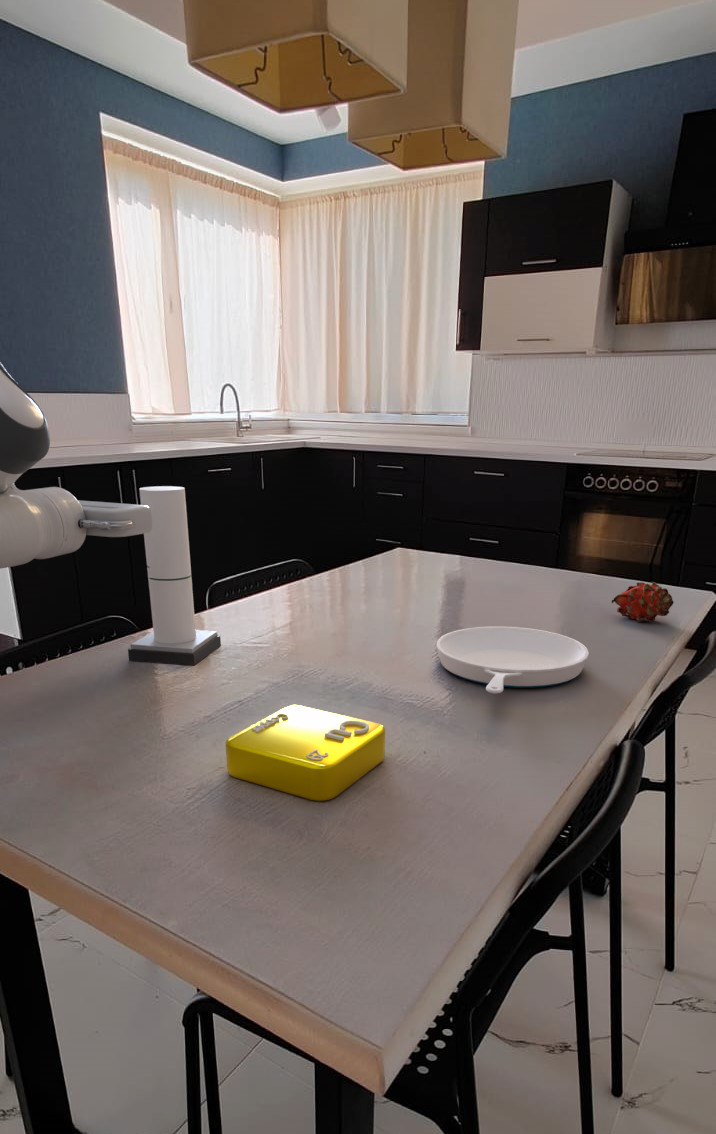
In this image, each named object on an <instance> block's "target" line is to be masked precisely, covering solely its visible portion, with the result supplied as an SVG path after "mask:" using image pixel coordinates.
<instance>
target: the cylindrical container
mask: <svg viewBox="0 0 716 1134" xmlns="http://www.w3.org/2000/svg"><path fill="white" fill-rule="evenodd" d="M185 489H186V488H185V487H183V486H176V485H175V486H173V485H161V486H159V485H157V486H143V487H140V488H139V489H138V490H139V499H140V505H146V506H148V507H149V508H150V510H151V514H152V530H151V531H150V532H148V533H144V534H143V539H144V550H145V559H146V566H147V567H146V571H147V578H148V579H147V580H148V589H149V597H150V598H149V599H150V600H149V601H150V611H151V620H152V632H153V631H154V639H155V641H157V642H160V643H184V642H188V641H191V640H194V639H195V638H196V630H197V629H196V619H195V618H196V617H195V607H194V606H195V605H194V593H193V592H194V590H193V579H192V567H191V553H190V540H189V528H188V527H189V526H188V512H187V501H186V490H185Z"/></svg>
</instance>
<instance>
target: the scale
mask: <svg viewBox="0 0 716 1134" xmlns="http://www.w3.org/2000/svg"><path fill="white" fill-rule="evenodd" d="M221 646H222V642H221V635H220V634H218V631H217V630H204V629H196V638H195V639H194V640H191V641H188V642H184V643H160V642H157V641H155V639H154V631H153V630H152V631H151V632H149V633H147V634H146V635H144V636H142V637H141V638H139V639H137V640H135V641H134V642H132V643H130V647H129V648H128V649H127V654H128V661H131V662H132V661H133V662H143V663H144V662H145V663H157V664H167V665H168V664H169V665H183V666H196V665H198V664H199V663H200V662H201V661H202V660H204V659H205V658H206V657H208V656H209V655H211V654H212V653H213V652H214V651H216V650H217V649H219V648H220V647H221Z"/></svg>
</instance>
